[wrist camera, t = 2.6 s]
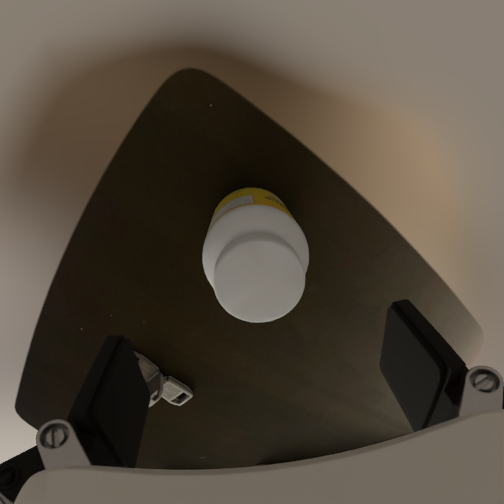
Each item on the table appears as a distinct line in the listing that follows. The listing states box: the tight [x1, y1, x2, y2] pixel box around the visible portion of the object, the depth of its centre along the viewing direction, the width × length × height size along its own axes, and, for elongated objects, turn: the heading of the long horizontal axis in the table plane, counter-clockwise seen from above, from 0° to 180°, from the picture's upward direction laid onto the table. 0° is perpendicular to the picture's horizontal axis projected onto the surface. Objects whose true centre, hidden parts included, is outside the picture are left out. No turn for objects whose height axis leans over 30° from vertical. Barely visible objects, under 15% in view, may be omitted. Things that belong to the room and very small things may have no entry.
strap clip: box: [134, 352, 193, 407], centre depth 30 cm, size 8×3×4 cm, turn 45°
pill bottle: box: [203, 187, 309, 322], centre depth 21 cm, size 6×6×12 cm
